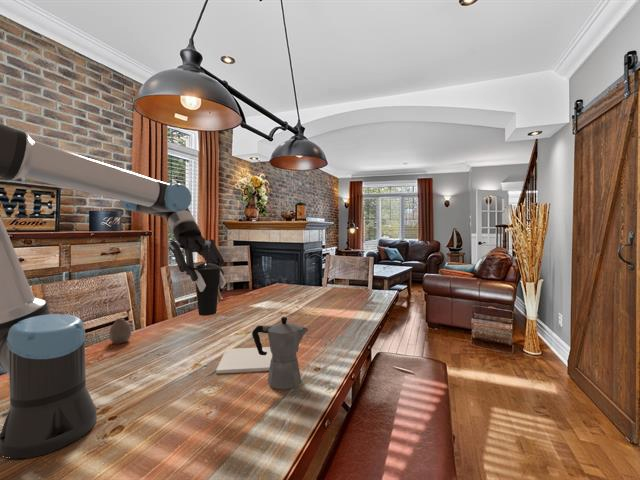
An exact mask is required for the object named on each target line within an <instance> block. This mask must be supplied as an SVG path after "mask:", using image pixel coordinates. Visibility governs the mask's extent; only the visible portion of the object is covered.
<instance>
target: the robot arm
mask: <svg viewBox="0 0 640 480" xmlns="http://www.w3.org/2000/svg"><path fill="white" fill-rule="evenodd" d="M20 178H24V179H27V180H32V181H38V182H41V183H44V184H45V183H46V184H50V185H54V186H58V187H63V188H67V189H71V190H75V191H80V192H84V193H87V194H88V193H89V194H93V195H97V196H101V197H106V198H110V199H113V200H118V201H119V203H120V206H121V208H123V209H124V210H128V211H131V212H133V213H135V212H137V213H143V214H146V215H147V214H148V215H152V216H153V215H154V216H157V217H161V218H165V220H166V222H167V224H168V225H169V227H170V230H171V232H172V235H173V237H174V239H175V241H174V240H172V241H171V242H170V243H169V246H168V249H169V250H170V251H171V253H173V254H172V255H173V256H174V259H175V262H176V264H177V268H178V270H179V272H181V273H186V276H189V277H190V279H191V281H192V282H194V283H195V282H196V283H195V285H196V284H197V286H198V288H199V291H200V292H203V290H204V288H205V287H206V284H205V282H204V280H203V278H202V276H201V274H200V273H199V272H198V271H197V270H194V267H195V261H194V253H197V254H198V255H199V256H201V257H202V258H203V259H204V260H205V261H206V245H209V263H214V264H217V265H219V266H221V269H220V276H219V289H224V287H225V286H226V284H227V280H226V278H225V277H224V275H225V273H224V272H225V271H223V268H222V267H223V266H224V264H225V260H224V258H223V256H222V254H221V253H220V251H219V249H218V248H217V245H216V243H215V242H216V241H215V240H214V239H210V240H206V239H205V237H204V236H203V235H202V232H201V230H200V228H199V225H198V224H197V222H196V220H195V219H196V218H194V216H193V214H192V211H191V210H190V208H189V207H190V206H191V203H192V193H191V191H190V189H189V188H188V187H187V186H186V185H184V184H182V183H176V182H172V183H167V182H165V181H161V180H158V179H154V178H151V177H148V176H146V175H142V174H139V173H136V172H133V171H129V170H127V169H123V168H121V167H117V166H114V165H111V164H108V163H105V162H101V161H99V160H97V159H96V160H95V159H92V158H88V157H87V156H83V155H80V154H77V153H73V152H71V151H69V150H64V149H62V148H59V147H56V146H53V145H49V144H46V143H43V142H40V141H36V140H34V139H32V138H31V137H30V135H29V134H28V133H27V132H26V131H23V130H20V129H17V128H15V127H11V126H8V125H6V124H2V123H0V179H5V180H9V181H15V180H18V179H20ZM182 249H183V251H184V255H183V252H182ZM85 342H86V330H85V324H84V322H83V320H82V319H81V318H80V317H78V316H76V315H71V314H67V313H66V314H62V313H51V311H50V308H49V306H48V303H47V302H46V300H45V299H43V298H39V297H37V296H34V293H33V291H32V289H31V286H30V284H29V281H28V278H27V277H26V274H25V272H24V270H23V267H22V265H21V262H20V260H19V258H18V255H17V252H16V250H15V248H14V246H13V242H12V241H11V238H10V236H9V233H8V231H7V229H6V227H5V224H4V222H3V220H2V217H1V216H0V368H1V369H2V370H4V371H5V372H6V373H8V376H9V377H8V378H9V379H8V381H9V382H8V383H9V404H10V405H9V410H8V413H7V415H6V418H5V420H4V423H3V426H2V428H1V432H0V454H1V455H2V456H4V457H8V458H9V457H10V458H25V459H30V458H36V457H39V456H43V455H45V454H49V453H51V452H52V453H53V452H55V451H57V450H59V449H62V448H64V447H66V446H68V445H70V444H73V443H74V442H76V441H78V440H79V439H81V438H82V437H83V436H85V435H86V434H88V432H89V431H91V429H93V427H94V426H95V424H96V423H97V407H96V405H95V403H94V401H93V399H92V396H91V394H90V393H89V390H88V389H87V385H86V384H87V383H86V382H87V381H86V378H87V377H86V343H85ZM1 455H0V456H1ZM2 456H1V457H2ZM4 457H3V458H4Z"/></svg>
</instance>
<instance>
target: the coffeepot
mask: <svg viewBox="0 0 640 480" xmlns="http://www.w3.org/2000/svg"><path fill="white" fill-rule="evenodd" d="M280 320H281V323H274V324H272V325H256V326H255V328H254V329H253V330H252V332H251V336H252V339H253V342H254V344H255V348H257V350H258V353H259V355H266V354H267V352H264V351H263V350H262V347H263V345H262V343H261V339H260V338H261V337H260V335H259V333H262V334H267V337H268V341H269V342H268V343H269V347H270V350H271V353H272V359H271V363H270V369H269V371H268V377H267V383H268V385H269V387H271V389H275V390H279V391H285V390H292V389H294V388H297V386H299V384H301V383H300V382H302V377H301V372H300V365H299V360H298V357H297V353H298V352H299V347H300V342H301V340H302V339H303V337H304V335H305V334H306V333H307V332H309V329H308V327H305V326H300V325H299V324H297V323H291V322H287V320H288V317H286V316H283V317H280Z"/></svg>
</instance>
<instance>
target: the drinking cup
mask: <svg viewBox="0 0 640 480" xmlns="http://www.w3.org/2000/svg"><path fill="white" fill-rule="evenodd" d="M221 268H222V267H221V266H219V265H217V264H214V263H209V245H206V260H205V262H203V263H198V264H197V265H194V270H197V271H198V272H199V273H200V274H201V276H202V278H203V280H204V282H205V284H206V287H205V288H204V290H203V292H200V291H199V288H198V286H197V284H196V282H195V281H194V283H195V291H196V299H197V300H196V301H197V309H198V310H197V312H198V315H199V316H202V317H205V316H206V317H208V316H213V315H216V314H217V309H218V299H219V289H220V286H219V276H220V269H221Z"/></svg>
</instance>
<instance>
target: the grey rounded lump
mask: <svg viewBox="0 0 640 480" xmlns="http://www.w3.org/2000/svg"><path fill="white" fill-rule="evenodd" d="M131 335H132V328H131V325H130V324H129V322H127V321H126V319H124V318H123V317H121V318H116V319H115V321H114V323H112V325H111V326H110V328H109V331H108V337H109V340H110V342H111V343H113V344H114V345H120V344H121V343H122V344H125V343H127V341H129V339H130V338H131ZM124 342H125V343H124Z"/></svg>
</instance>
